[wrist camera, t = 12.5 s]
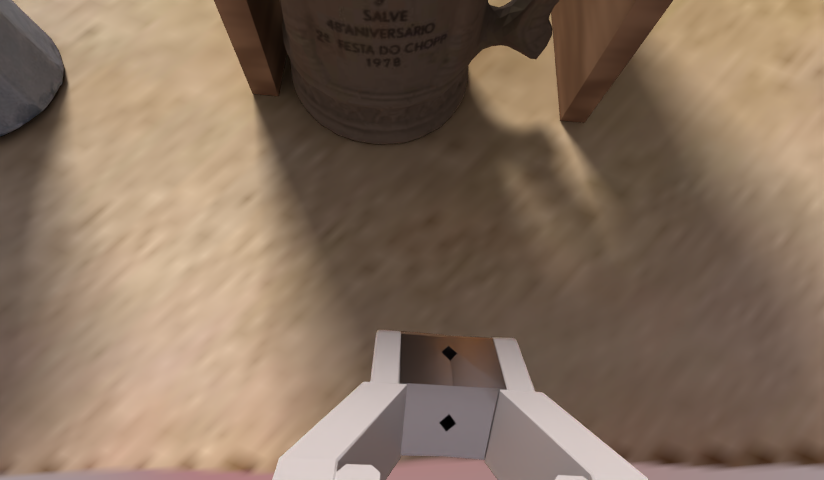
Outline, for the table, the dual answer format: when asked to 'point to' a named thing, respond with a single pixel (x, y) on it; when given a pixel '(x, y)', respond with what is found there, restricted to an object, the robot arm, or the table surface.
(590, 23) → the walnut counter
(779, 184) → the table surface
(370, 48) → the beer stein
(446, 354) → the robot arm
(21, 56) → the moka pot
